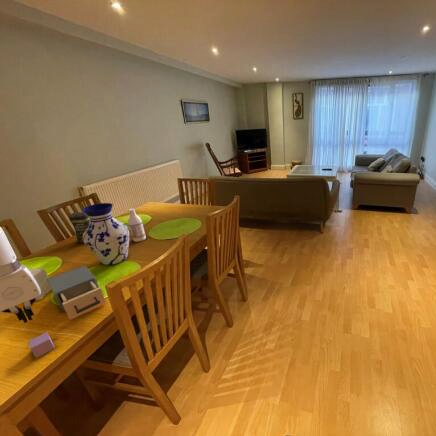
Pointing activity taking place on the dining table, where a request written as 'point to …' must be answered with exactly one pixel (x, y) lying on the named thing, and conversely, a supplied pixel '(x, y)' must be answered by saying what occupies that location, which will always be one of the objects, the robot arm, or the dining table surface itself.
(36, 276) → the small box
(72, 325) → the dining table surface
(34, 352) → the lavender rounded block
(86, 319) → the dining table surface
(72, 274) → the drawer box
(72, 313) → the sliding drawer
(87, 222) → the coffee jar
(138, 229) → the bath foam
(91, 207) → the vase
